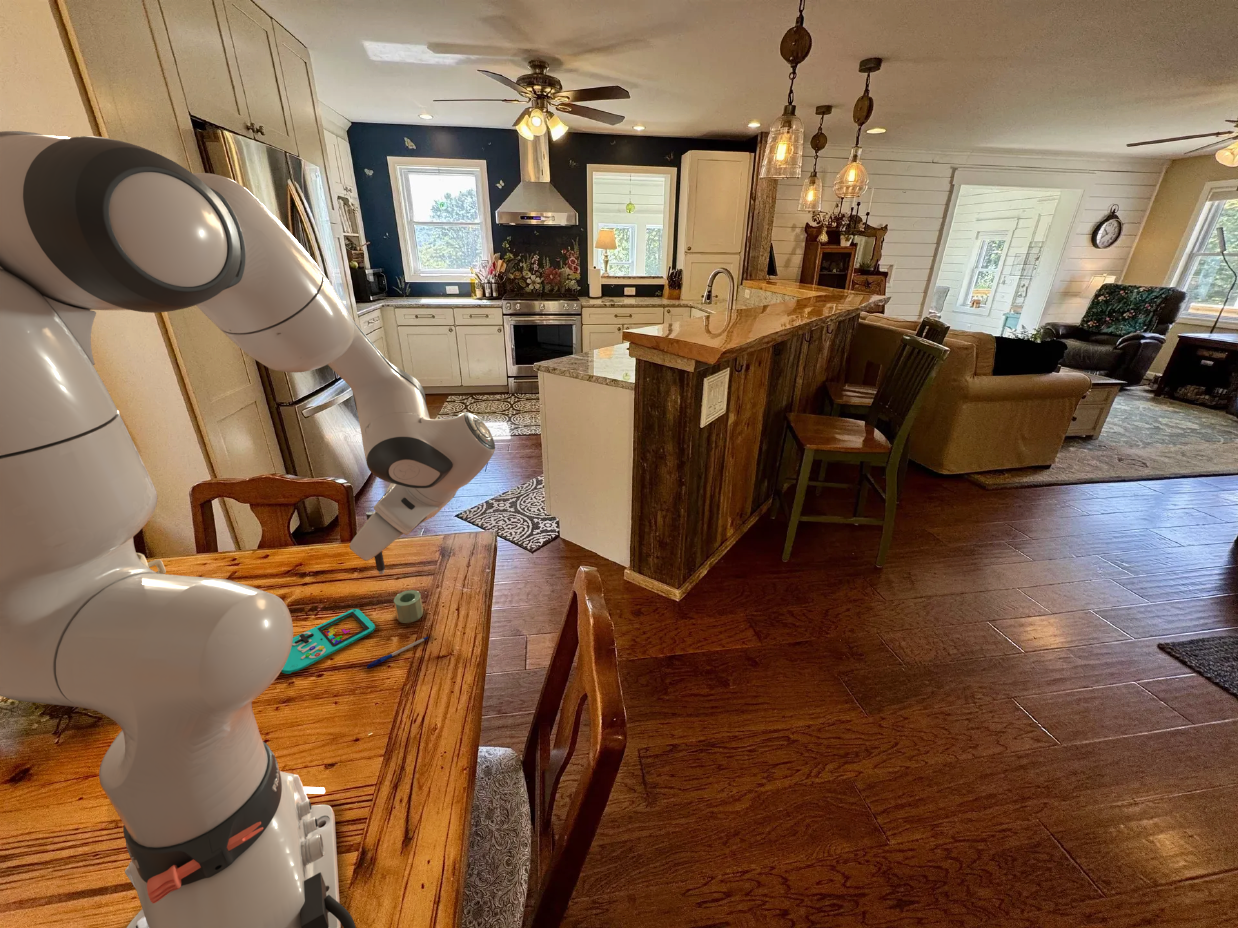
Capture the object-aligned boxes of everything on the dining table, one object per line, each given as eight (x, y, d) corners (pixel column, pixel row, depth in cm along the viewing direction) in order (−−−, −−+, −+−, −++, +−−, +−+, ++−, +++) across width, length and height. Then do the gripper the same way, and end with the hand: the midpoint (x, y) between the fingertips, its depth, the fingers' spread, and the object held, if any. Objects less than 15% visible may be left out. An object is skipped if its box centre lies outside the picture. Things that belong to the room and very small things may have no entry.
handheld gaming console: (266, 648, 84) (356, 606, 95) (268, 653, 85) (357, 610, 95) (284, 674, 79) (377, 626, 90) (286, 679, 80) (378, 630, 90)
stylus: (386, 573, 87) (375, 513, 82) (379, 576, 86) (367, 515, 81) (384, 569, 88) (373, 510, 83) (376, 572, 87) (364, 512, 82)
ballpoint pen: (368, 671, 82) (367, 667, 81) (366, 668, 82) (365, 664, 82) (429, 639, 89) (428, 635, 88) (426, 637, 89) (426, 633, 89)
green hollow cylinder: (427, 617, 94) (424, 598, 92) (402, 628, 91) (399, 608, 89) (418, 605, 97) (414, 586, 95) (394, 615, 94) (390, 596, 93)
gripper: (431, 455, 89) (387, 500, 93) (372, 507, 70) (320, 561, 74) (458, 478, 90) (413, 522, 95) (407, 535, 72) (354, 587, 76)
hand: (371, 540), depth 84 cm, fingers closed on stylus, 1 cm apart
